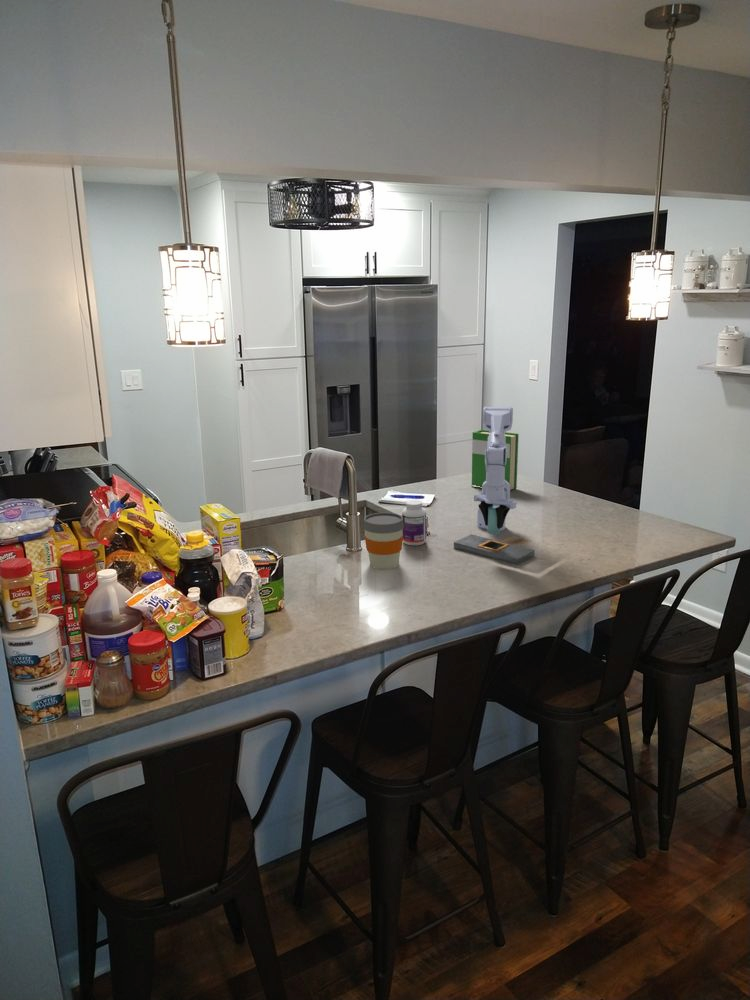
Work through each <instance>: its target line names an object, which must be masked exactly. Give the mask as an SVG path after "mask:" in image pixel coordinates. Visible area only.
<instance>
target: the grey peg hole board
mask: <svg viewBox="0 0 750 1000" xmlns="http://www.w3.org/2000/svg"><path fill="white" fill-rule="evenodd" d="M500 541H501V540H495V539H492V538H487V537H484V536H481V535H475V534H472V533H471V534H469V535H467V536H464V537H462V538H460V539H458V540H455V541H453V549H457V550H460V551H464V552H468V553H471V554H474V555H479V556H482V557H485V558H490V559H493V560H497V561H501V562H505V563H508V564H512V565H515V566H518V565H521V564H522V563H524V562H526V561H528V560H529V559H532V558H533V557H535V549H532V548H529V547H525V546H524V547H523V546H517V545H512V544H508V543H504V542H500ZM455 551H456V550H455ZM457 552H458V551H456V553H457ZM466 555H469V554H466ZM477 558H480V557H478V556H477ZM503 565H505V566H506V564H503ZM515 566H514V568H516V569H517V567H515Z"/></svg>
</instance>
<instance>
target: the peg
mask: <svg viewBox="0 0 750 1000" xmlns="http://www.w3.org/2000/svg"><path fill="white" fill-rule="evenodd" d="M496 508H497V507H496V506H492V507H488V530H487V534H489V535H499V534H501V531H500V529H499V528H497V513H496Z"/></svg>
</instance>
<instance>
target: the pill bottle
mask: <svg viewBox="0 0 750 1000" xmlns="http://www.w3.org/2000/svg"><path fill="white" fill-rule="evenodd" d="M401 516H402V517H403V523H404V528H403V531H402V534H403V542H402V543H403V544H405V545H407V546H415V547H416V546H421V545H424V544H425V543H426V542H427V510H426V509H425V508H424V507H423V501H422V500H419V499H410V500H409V499H408V500H407V501H406V502H405V508H403V509H402V511H401Z"/></svg>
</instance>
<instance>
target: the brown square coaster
mask: <svg viewBox="0 0 750 1000" xmlns="http://www.w3.org/2000/svg"><path fill="white" fill-rule="evenodd" d="M499 541H500V542H504V543H508V544H512V545H517V546H521V547H523V546H524V545H526V544H528V543H529V542H532V540H531V539H526V538H522V537H518V536H514V535H509V536H507V537H505V538H503V539H501V540H499Z"/></svg>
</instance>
